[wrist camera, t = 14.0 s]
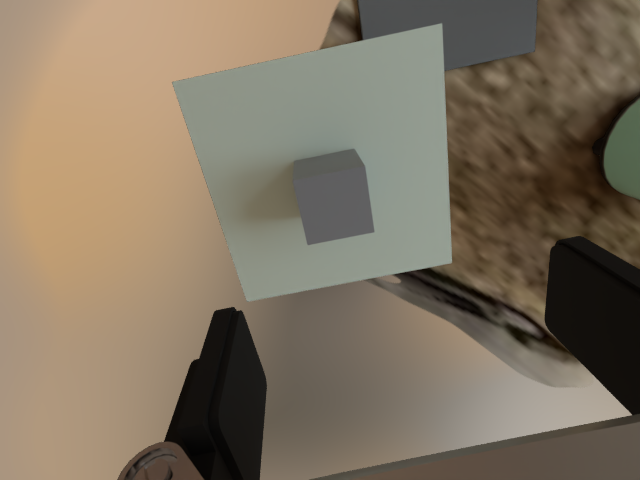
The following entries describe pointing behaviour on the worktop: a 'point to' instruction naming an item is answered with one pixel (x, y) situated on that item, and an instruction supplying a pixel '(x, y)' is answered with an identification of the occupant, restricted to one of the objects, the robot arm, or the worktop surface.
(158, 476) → the robot arm
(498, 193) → the worktop surface
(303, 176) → the cover
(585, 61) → the worktop surface
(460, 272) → the worktop surface
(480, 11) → the mat
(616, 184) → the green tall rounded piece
